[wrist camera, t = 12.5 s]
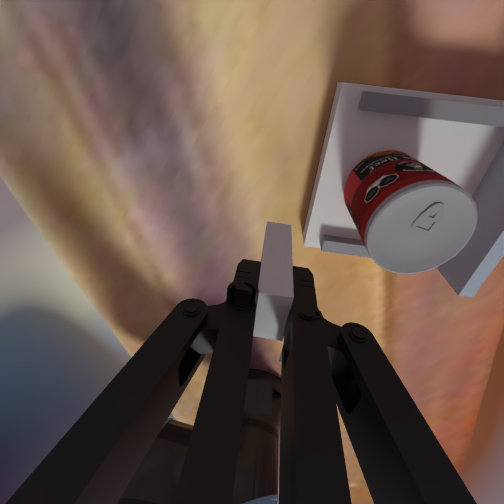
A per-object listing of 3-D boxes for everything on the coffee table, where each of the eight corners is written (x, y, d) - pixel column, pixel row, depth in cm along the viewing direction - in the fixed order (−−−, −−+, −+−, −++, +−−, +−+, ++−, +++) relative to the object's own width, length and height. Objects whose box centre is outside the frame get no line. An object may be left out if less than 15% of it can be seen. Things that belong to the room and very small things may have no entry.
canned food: (428, 150, 27) (501, 186, 18) (402, 221, 31) (449, 279, 22) (351, 145, 28) (383, 178, 18) (335, 216, 32) (355, 271, 23)
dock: (434, 252, 37) (472, 297, 29) (302, 234, 37) (306, 274, 30) (518, 102, 27) (609, 111, 19) (337, 81, 27) (357, 82, 20)
